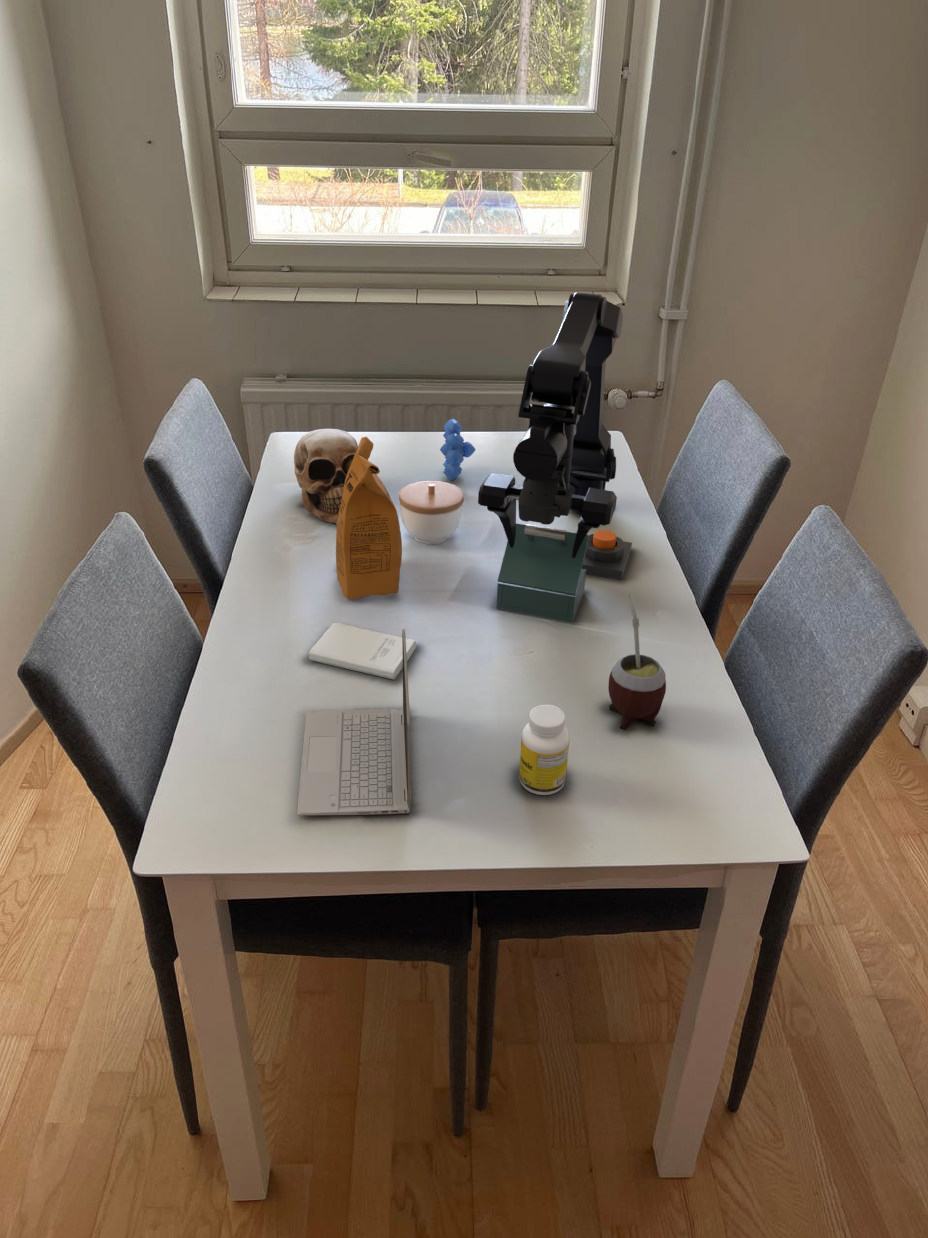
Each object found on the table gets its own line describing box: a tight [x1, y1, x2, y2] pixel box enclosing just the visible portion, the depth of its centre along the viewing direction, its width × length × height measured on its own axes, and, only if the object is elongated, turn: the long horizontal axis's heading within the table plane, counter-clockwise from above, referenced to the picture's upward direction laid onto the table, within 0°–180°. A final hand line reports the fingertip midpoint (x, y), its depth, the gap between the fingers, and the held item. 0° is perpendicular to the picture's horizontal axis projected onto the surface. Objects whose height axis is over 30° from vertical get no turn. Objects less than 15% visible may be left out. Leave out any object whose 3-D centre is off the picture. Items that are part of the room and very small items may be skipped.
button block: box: [582, 533, 633, 581], centre depth 152 cm, size 10×8×4 cm
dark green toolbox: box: [496, 569, 587, 623], centre depth 142 cm, size 9×12×4 cm
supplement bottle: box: [518, 704, 570, 796], centre depth 107 cm, size 5×5×10 cm
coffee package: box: [335, 436, 403, 600], centre depth 140 cm, size 10×12×22 cm
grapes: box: [439, 418, 477, 481], centre depth 175 cm, size 12×7×12 cm, turn 3°
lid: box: [497, 522, 590, 596], centre depth 136 cm, size 9×12×4 cm
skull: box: [293, 428, 359, 525], centre depth 167 cm, size 16×17×13 cm
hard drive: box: [308, 622, 417, 680], centre depth 129 cm, size 2×8×12 cm
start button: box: [593, 529, 617, 549], centre depth 151 cm, size 4×4×2 cm
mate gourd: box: [607, 593, 667, 731], centre depth 116 cm, size 8×8×15 cm
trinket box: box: [398, 480, 465, 545], centre depth 157 cm, size 11×11×9 cm
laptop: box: [296, 628, 412, 816], centre depth 108 cm, size 18×12×13 cm
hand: (542, 551), depth 137 cm, fingers open, 9 cm apart
